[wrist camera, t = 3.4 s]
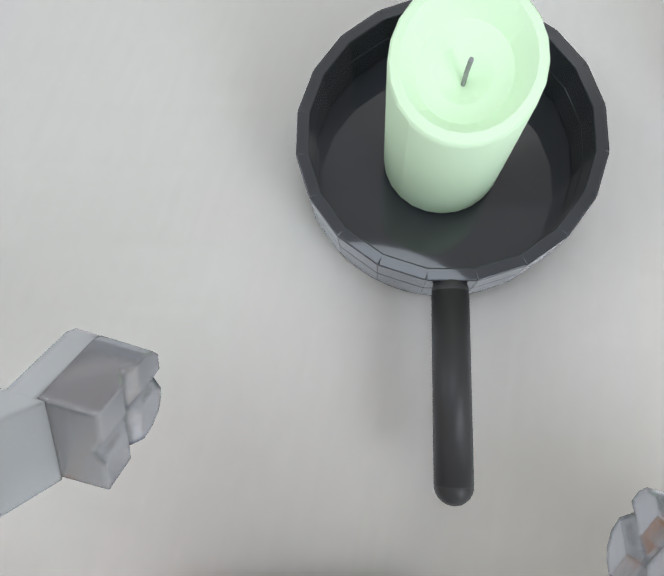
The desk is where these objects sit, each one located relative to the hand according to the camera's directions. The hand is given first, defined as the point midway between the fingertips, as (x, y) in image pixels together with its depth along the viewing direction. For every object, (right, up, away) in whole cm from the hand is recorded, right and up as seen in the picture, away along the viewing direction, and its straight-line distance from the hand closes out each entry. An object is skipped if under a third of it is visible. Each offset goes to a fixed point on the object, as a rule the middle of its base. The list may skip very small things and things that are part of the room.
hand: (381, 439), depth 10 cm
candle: (+4, +8, +16) cm, 18 cm away
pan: (+4, +8, +16) cm, 18 cm away
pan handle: (+4, -1, +12) cm, 13 cm away
